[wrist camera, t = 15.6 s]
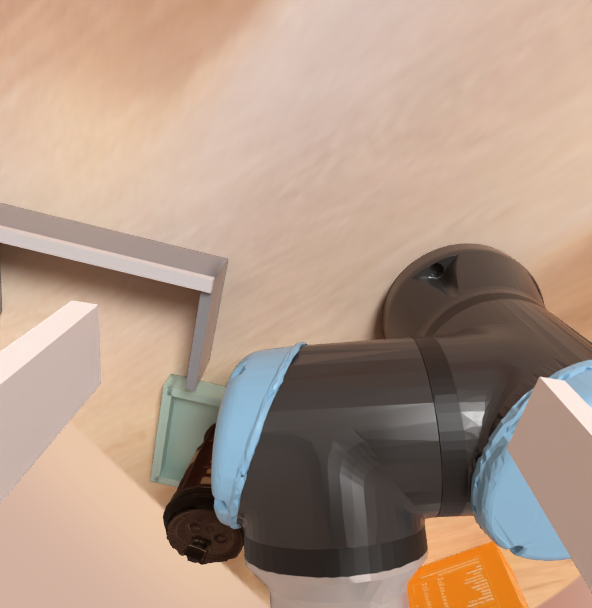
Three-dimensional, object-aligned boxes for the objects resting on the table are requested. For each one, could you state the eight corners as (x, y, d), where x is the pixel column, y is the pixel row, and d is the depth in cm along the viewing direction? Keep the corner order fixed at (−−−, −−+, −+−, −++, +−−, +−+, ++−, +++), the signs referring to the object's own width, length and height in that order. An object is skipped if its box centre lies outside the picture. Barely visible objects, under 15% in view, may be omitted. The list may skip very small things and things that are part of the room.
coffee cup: (214, 475, 52) (183, 578, 40) (181, 425, 49) (138, 519, 37) (277, 456, 50) (265, 557, 38) (247, 402, 48) (224, 494, 36)
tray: (282, 399, 48) (280, 413, 46) (257, 487, 53) (255, 503, 51) (170, 373, 47) (163, 386, 45) (157, 465, 53) (150, 481, 50)
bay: (228, 258, 42) (212, 280, 35) (209, 359, 46) (192, 395, 40) (-13, 198, 41) (-73, 211, 34) (-8, 309, 45) (-60, 337, 39)
